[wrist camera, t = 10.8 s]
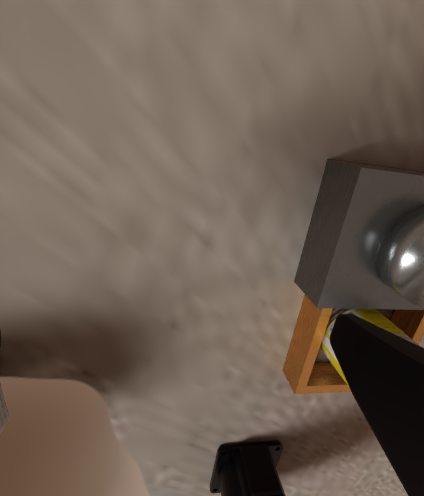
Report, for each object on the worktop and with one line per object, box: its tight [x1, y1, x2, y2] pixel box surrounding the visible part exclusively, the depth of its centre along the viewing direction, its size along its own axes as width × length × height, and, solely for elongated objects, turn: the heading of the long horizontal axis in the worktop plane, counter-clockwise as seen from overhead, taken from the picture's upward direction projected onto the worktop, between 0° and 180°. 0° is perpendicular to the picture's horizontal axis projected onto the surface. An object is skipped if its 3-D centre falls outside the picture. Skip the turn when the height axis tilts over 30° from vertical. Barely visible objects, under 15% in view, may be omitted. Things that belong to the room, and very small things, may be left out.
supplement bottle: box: [320, 308, 419, 385], centre depth 21 cm, size 6×6×10 cm
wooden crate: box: [283, 159, 424, 394], centre depth 22 cm, size 18×12×6 cm
